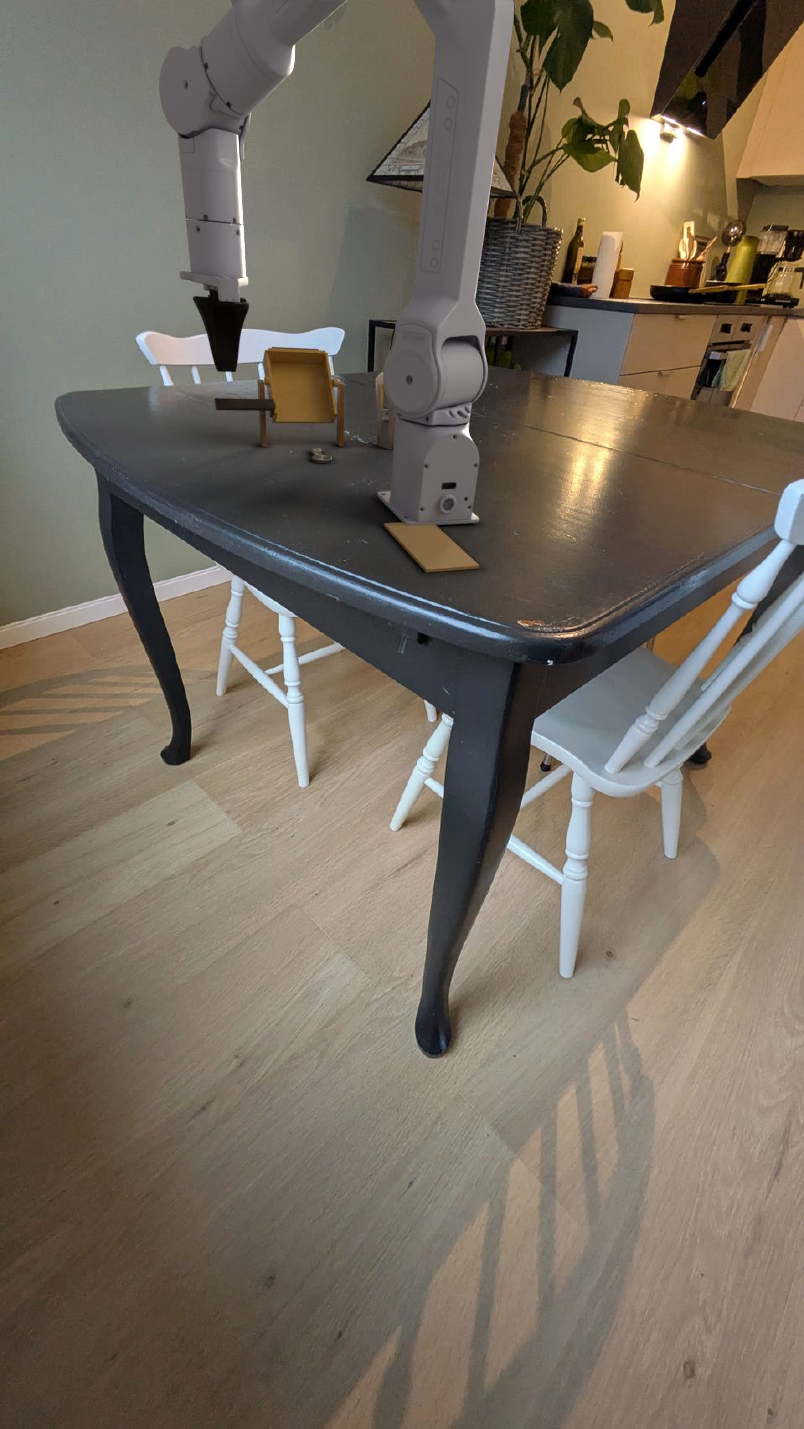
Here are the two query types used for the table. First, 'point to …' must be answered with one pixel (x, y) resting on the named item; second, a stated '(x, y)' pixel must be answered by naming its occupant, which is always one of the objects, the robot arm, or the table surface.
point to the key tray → (293, 387)
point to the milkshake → (384, 417)
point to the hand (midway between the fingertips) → (226, 371)
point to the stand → (339, 416)
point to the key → (319, 456)
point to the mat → (431, 547)
